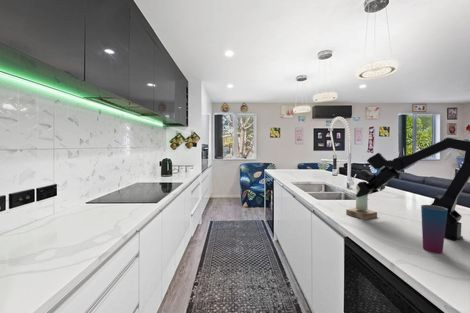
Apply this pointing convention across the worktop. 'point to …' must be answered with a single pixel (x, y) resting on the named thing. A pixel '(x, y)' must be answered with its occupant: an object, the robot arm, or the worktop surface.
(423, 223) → the cup
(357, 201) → the cream-capped mint cylinder
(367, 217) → the base
